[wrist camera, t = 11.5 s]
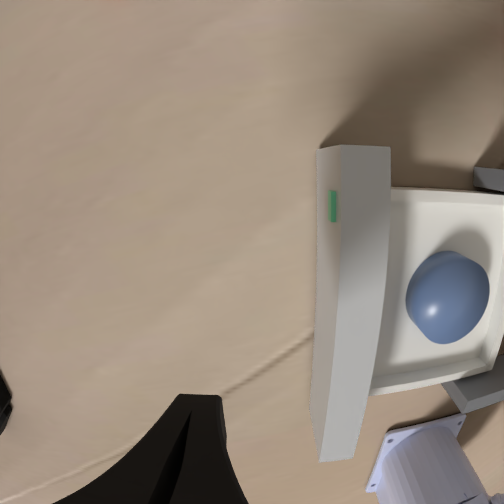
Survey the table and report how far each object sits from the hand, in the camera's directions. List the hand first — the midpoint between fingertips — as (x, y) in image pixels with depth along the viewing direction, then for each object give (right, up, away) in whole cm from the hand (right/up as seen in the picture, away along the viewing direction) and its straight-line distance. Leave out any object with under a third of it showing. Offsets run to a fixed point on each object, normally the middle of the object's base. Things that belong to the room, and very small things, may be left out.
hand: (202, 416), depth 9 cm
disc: (+13, +3, +8) cm, 16 cm away
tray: (+13, +3, +9) cm, 16 cm away
